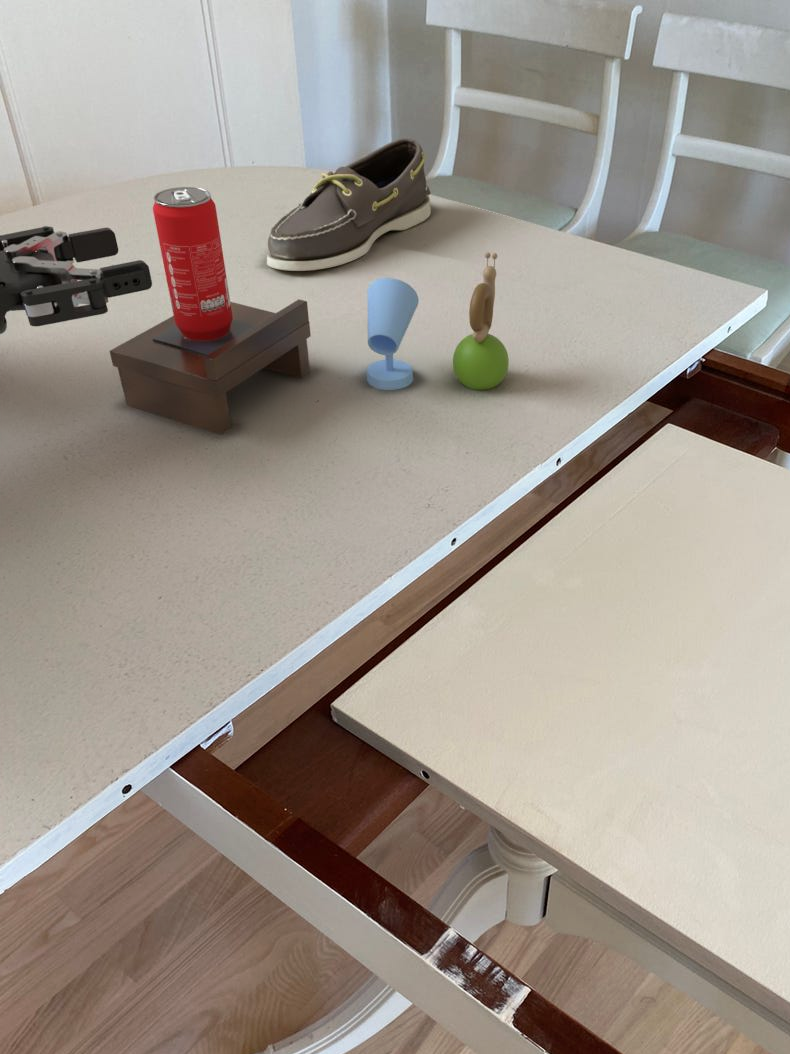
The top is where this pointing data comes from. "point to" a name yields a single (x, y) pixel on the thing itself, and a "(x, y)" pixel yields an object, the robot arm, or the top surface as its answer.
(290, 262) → the boat shoe
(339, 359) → the top surface
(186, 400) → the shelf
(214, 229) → the beverage can
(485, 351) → the snail figurine
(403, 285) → the spotlight
